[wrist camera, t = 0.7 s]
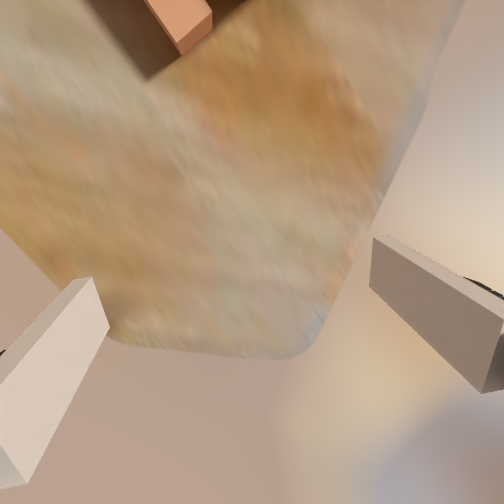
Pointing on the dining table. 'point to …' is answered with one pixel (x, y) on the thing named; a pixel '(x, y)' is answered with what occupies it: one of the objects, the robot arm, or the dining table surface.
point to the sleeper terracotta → (182, 20)
